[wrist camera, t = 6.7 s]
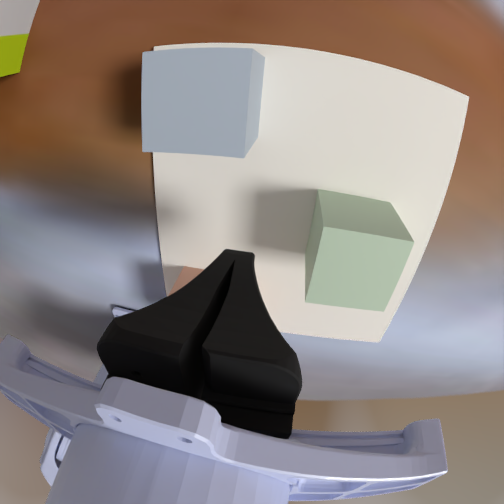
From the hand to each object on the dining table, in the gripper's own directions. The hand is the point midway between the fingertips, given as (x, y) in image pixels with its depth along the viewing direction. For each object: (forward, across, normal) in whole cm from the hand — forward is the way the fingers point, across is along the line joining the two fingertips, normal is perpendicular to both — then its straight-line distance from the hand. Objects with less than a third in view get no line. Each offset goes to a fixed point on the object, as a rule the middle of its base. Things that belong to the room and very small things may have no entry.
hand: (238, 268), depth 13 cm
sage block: (+5, -6, 0) cm, 8 cm away
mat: (+6, -3, 0) cm, 6 cm away
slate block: (+5, +2, -7) cm, 9 cm away
